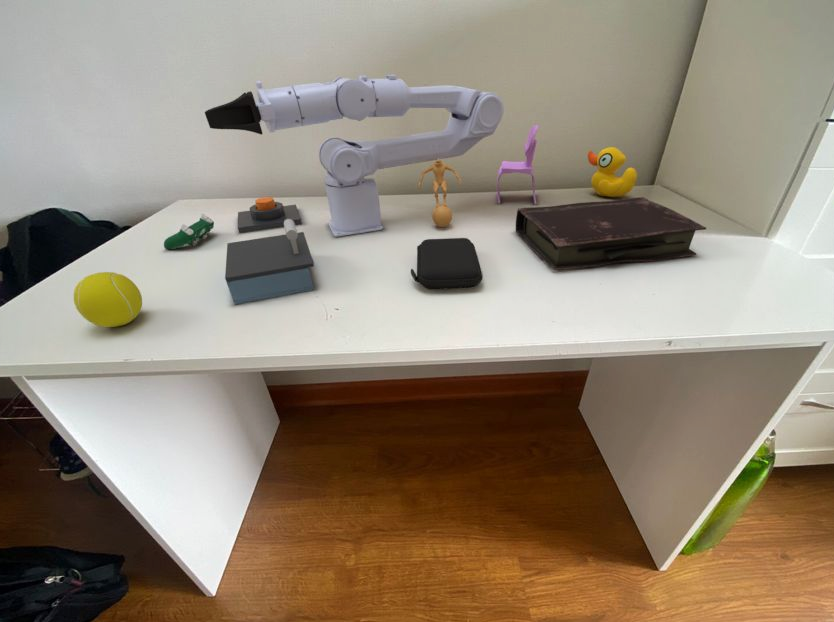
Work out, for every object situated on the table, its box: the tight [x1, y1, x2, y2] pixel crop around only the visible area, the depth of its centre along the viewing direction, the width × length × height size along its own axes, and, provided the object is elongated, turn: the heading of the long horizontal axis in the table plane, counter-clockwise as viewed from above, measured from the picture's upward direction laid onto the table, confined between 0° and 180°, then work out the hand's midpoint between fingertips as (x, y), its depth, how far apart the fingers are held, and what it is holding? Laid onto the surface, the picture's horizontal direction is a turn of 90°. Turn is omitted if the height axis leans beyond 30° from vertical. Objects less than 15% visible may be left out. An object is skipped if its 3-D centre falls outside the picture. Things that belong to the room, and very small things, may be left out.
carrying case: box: [410, 237, 484, 291], centre depth 66 cm, size 11×3×15 cm
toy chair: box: [496, 124, 539, 205], centre depth 90 cm, size 8×9×15 cm
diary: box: [515, 196, 707, 270], centre depth 72 cm, size 19×25×5 cm
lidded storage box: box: [226, 267, 314, 305], centre depth 65 cm, size 11×13×4 cm
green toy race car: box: [163, 213, 215, 250], centre depth 78 cm, size 9×4×6 cm
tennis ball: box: [73, 271, 143, 328], centre depth 55 cm, size 7×7×7 cm
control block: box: [237, 201, 303, 234], centre depth 86 cm, size 12×10×3 cm
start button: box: [254, 196, 276, 210], centre depth 85 cm, size 4×4×2 cm
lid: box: [224, 219, 315, 283], centre depth 63 cm, size 12×13×4 cm
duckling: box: [587, 146, 638, 198], centre depth 92 cm, size 11×5×10 cm, turn 51°
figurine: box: [417, 159, 463, 228], centre depth 80 cm, size 8×6×12 cm
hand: (207, 119), depth 64 cm, fingers open, 7 cm apart
